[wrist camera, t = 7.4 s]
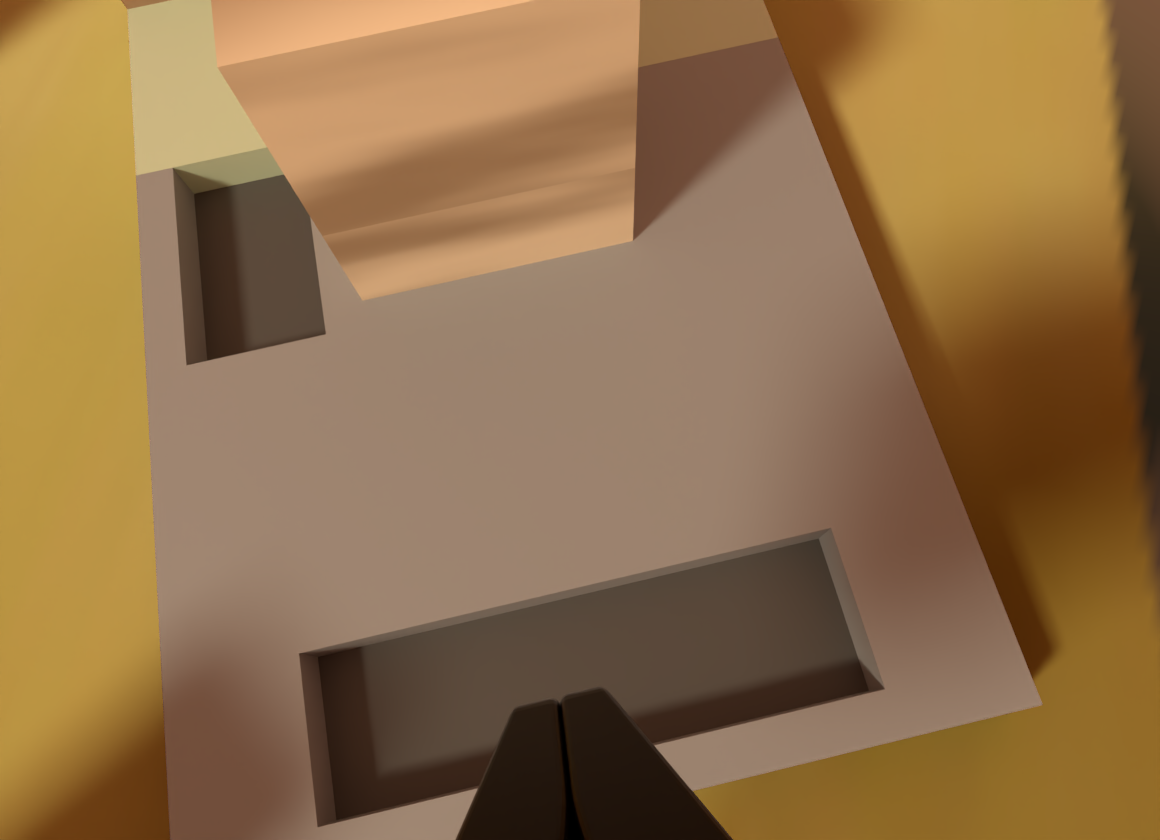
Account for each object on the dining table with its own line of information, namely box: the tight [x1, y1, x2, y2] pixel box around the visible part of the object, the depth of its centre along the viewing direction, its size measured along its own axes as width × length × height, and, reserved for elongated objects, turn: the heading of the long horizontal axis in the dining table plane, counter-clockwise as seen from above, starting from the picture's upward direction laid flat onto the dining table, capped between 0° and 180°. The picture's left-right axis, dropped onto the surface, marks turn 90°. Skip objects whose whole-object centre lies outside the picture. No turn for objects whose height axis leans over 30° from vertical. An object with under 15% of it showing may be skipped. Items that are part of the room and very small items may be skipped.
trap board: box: [136, 38, 1043, 840], centre depth 20 cm, size 18×18×2 cm
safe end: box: [121, 0, 778, 194], centre depth 24 cm, size 7×18×4 cm, turn 103°
